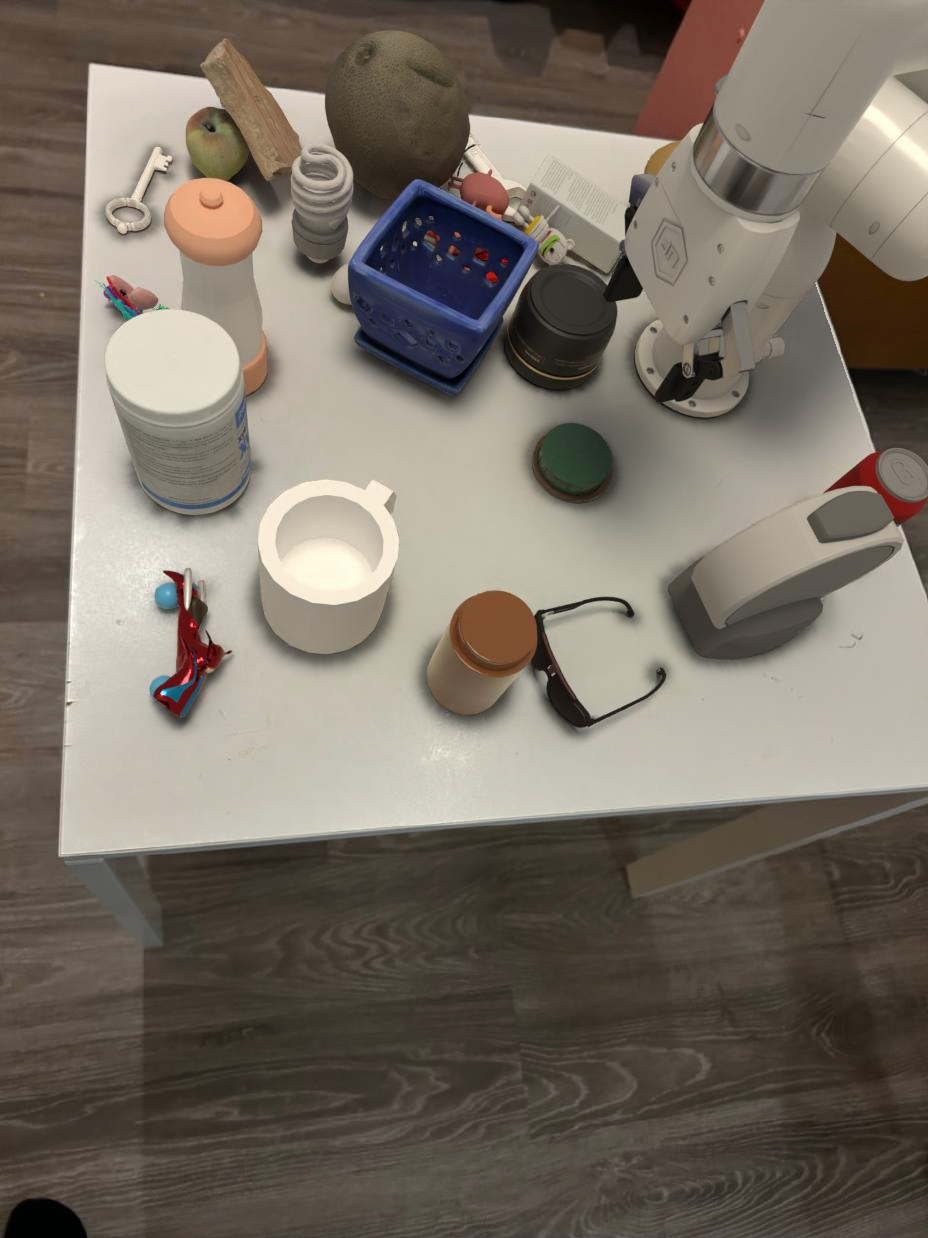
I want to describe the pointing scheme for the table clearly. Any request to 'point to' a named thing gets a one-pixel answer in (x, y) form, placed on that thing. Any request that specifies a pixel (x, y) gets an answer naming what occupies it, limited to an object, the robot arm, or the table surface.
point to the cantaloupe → (397, 112)
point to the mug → (327, 563)
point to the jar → (560, 326)
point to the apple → (216, 143)
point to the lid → (574, 459)
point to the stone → (252, 110)
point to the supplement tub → (181, 408)
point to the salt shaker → (221, 264)
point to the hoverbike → (186, 644)
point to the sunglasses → (557, 684)
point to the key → (138, 195)
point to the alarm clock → (782, 571)
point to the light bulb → (321, 202)
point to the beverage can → (892, 480)
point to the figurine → (480, 197)
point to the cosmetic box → (578, 212)
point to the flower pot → (435, 285)
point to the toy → (541, 233)
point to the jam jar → (482, 652)
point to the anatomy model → (129, 297)
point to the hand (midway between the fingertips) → (645, 345)
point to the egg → (341, 285)
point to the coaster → (560, 494)
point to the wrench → (493, 174)
